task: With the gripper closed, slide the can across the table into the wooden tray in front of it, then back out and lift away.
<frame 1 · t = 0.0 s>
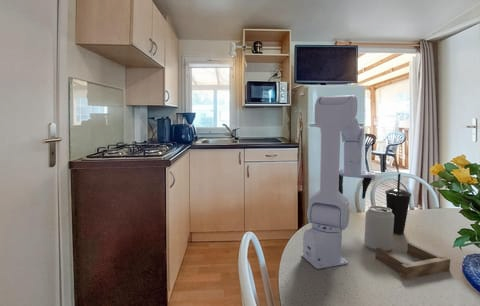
hand: (352, 196, 101), 11 cm above the table, tool pointing down, fingers open, 7 cm apart
can: (377, 248, 83), on the table
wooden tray: (406, 263, 74), on the table
drinking cup: (395, 232, 95), on the table
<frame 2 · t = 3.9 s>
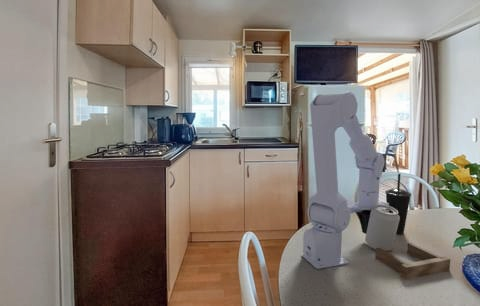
hand: (366, 233, 88), 2 cm above the table, tool pointing down, fingers closed, pressing on can
can: (377, 246, 83), on the table, touching gripper
everything else where it was.
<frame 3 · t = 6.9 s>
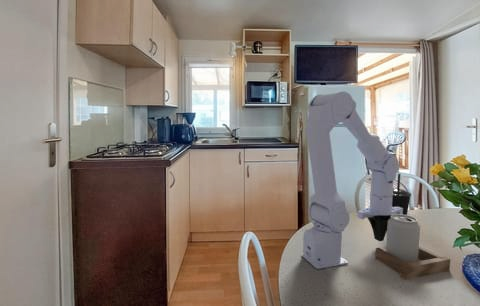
hand: (378, 239, 83), 2 cm above the table, tool pointing down, fingers closed
can: (401, 261, 75), on the table
everything else where it was.
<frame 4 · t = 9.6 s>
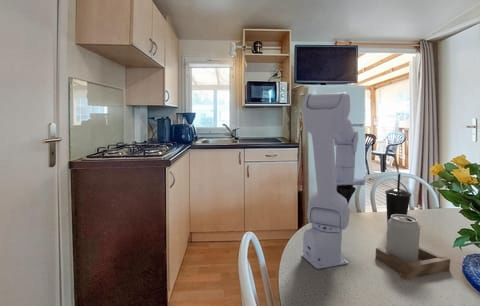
hand: (343, 208, 90), 9 cm above the table, tool pointing down, fingers closed
nothing on the table moved.
at the end: can inside the target area (1.7 cm from its centre), on the table; can tilted 0° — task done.
